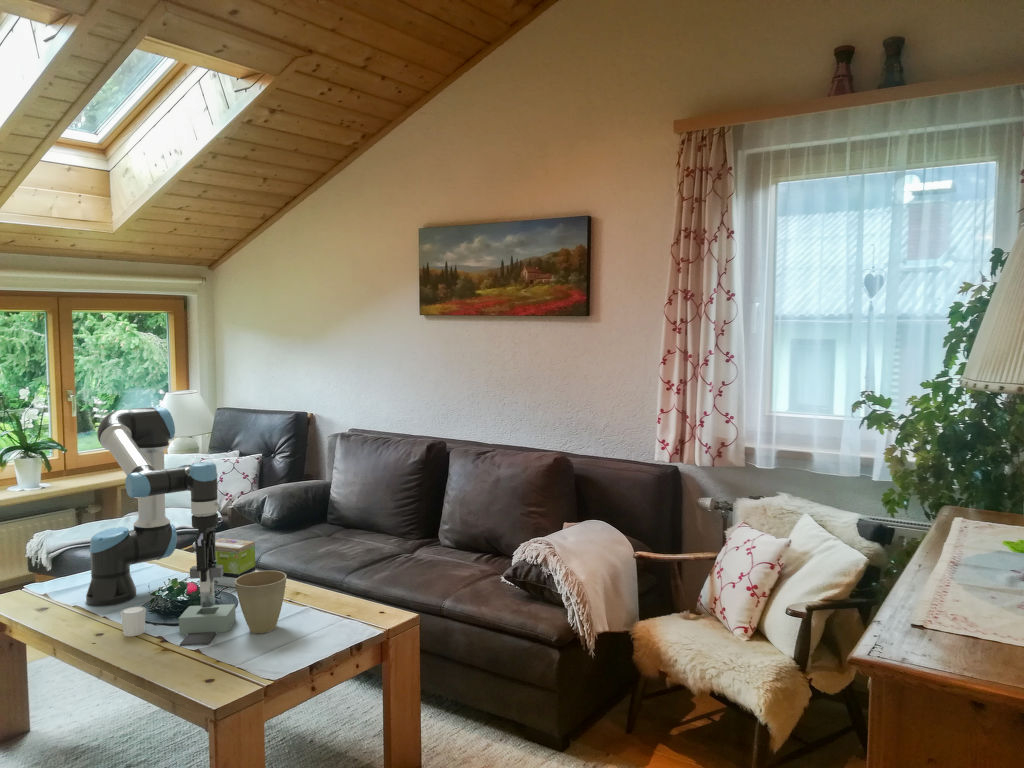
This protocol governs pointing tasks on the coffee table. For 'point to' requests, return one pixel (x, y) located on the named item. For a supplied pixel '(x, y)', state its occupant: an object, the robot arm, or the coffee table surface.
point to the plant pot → (261, 599)
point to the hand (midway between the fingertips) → (207, 588)
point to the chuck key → (214, 572)
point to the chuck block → (207, 619)
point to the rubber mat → (198, 638)
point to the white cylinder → (133, 620)
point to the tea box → (234, 559)
